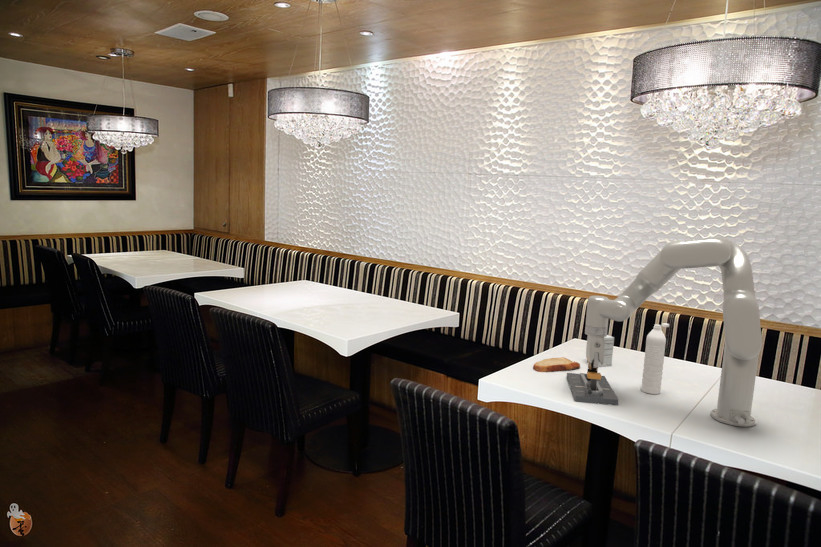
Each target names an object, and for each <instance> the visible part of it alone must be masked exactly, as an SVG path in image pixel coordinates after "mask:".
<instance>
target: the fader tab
mask: <svg viewBox="0 0 821 547" xmlns="http://www.w3.org/2000/svg"><path fill="white" fill-rule="evenodd" d="M586 374H587V377H588V379H591V380H590V388H591V390H596V384H597V379H599V380H601V376H602V374H601V372H597V373H596V372H586Z"/></svg>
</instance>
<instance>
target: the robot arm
mask: <svg viewBox="0 0 821 547" xmlns="http://www.w3.org/2000/svg"><path fill="white" fill-rule="evenodd" d="M710 267H712V268H713V267H718V268H720V273H721V282H722V290H723V293H722V294H723V301H722V317H723V328H724V329H723V330H724V347H723V355H722V356H723V358H722V364H721V365H722V366H721V370H720V371H721V374H720V380H719V381H720V382H719V388H718V397H717V405H716V408H715V409H712V410H711V411H710V416H711V417H712V418H713V419H715V420H716V421H718V422H720V423H723V424H727V425H731V426H733V427H734V426H735V427H741V428H742V427H746V428H747V427H753V426H755V425H756V422H757V421H756V418H754V417H753V416H752V415H751V414H752V407H753V402H754V401H753V399H754V392H755V385H756V377H757V372H758V365H759V364H758V362H759V354H760V353H761V351H762V347H763V342H762V329H761V328H762V327H761V318H760V308H759V304H758V301H757V297H756V293H755V281H754V276H753V275H754V274H753V269H752V268H753V267H752V264H751V260H750V259H749V256H748V255H747V253H746V252H745V250H744V249H743V248H742V247H741V245H739V244H738V243H736V242H734V241H732V240H729V239H728V238H724V237H719V236H714V237H710V238H708V239H701V240H692V241H691V240H690V241H679V240H674V241H670V242H668V243H667V244H665V245H664V246H663V247H662V249H661V250H660V251H658V253H657V254H656V255H655V256H654V257H653V258H652V259H651V260H650V261H649V262H648V263H647V264H646V265H645V266H644V267H643V268H642V269H641V270H640V271H639V272H638V273H637V275H636V277H635V279H634V280H633V281H632V283H630V285H628V286H627V288H625V290H624V291H623V292H622V293H621V294H619V295H618V296H617V297H616V298H615V299H610V298H608V297H607V296H603V295H590V296H589V297H588V298H587V304H586V317H585V327H584V328H585V329H584V334H585V335H587V337H586V345H585V346H586V348H585V349H586V350H585V358H586V359H588V362H587V372H596V373H599V372H598V370H599V369H598V368H599V367H598V362H600V363H601V364H603V363H604V345H605V341H604V337H606V336H607V335H608V328H609V327H608V326H609V320H612V321H615V322H625V321H626V320H627V319H628V320H629V318H630V317H631V316H632V315H633V314H634V313H635V311H637V310H638V308H640V306H642V304H643V303H644V302H645V301H646V300H648V299H649V298H650V297H651V296H652V295H653V294H655V293H657V292H658V291H660V289H662V288H663V286H665V285H666V284H667V283H668V282H669V281H670V279H672V278H673V277H674V276H675V275H676V274H677V273H678V272H679V271H680V270H682V269H696V268H710ZM587 372H586V373H587ZM587 380H588V381H590V380H591V379H588V377H587Z"/></svg>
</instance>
